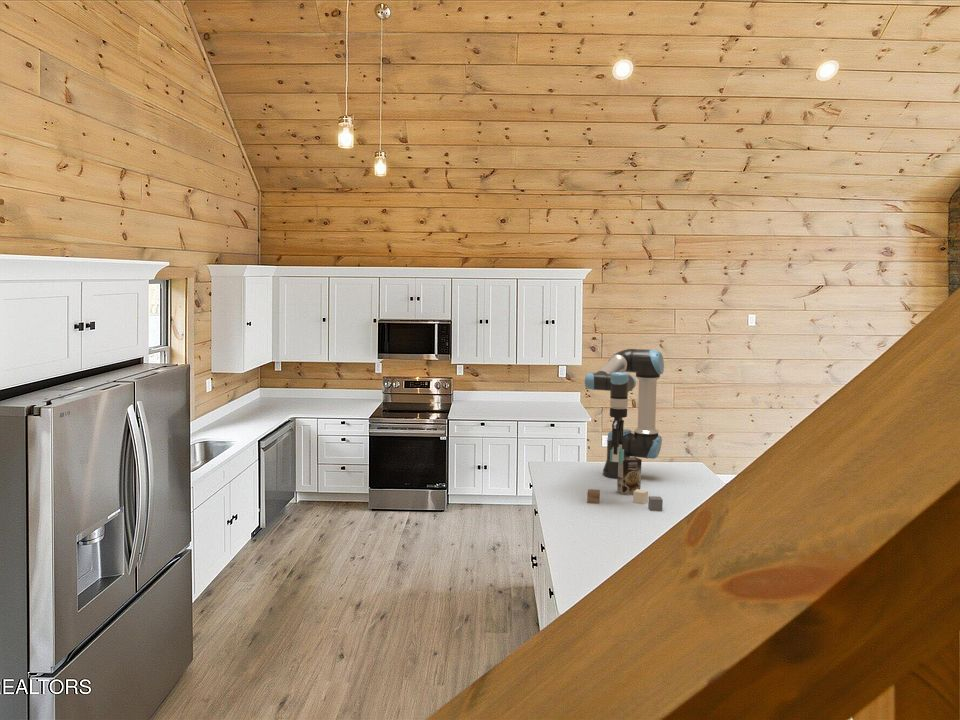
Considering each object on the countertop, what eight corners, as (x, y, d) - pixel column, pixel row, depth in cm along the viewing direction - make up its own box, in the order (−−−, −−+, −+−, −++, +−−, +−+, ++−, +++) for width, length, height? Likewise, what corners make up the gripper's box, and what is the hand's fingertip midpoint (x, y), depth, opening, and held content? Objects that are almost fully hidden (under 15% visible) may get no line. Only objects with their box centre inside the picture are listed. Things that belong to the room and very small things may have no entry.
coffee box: (622, 494, 353) (624, 460, 352) (616, 491, 359) (617, 457, 358) (640, 493, 356) (642, 459, 354) (634, 490, 362) (635, 456, 360)
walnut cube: (588, 500, 343) (588, 489, 343) (599, 500, 342) (599, 489, 342) (587, 503, 339) (587, 491, 338) (598, 503, 337) (598, 492, 337)
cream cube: (636, 500, 345) (637, 489, 345) (647, 501, 342) (648, 490, 342) (633, 502, 341) (633, 491, 340) (644, 504, 338) (644, 493, 338)
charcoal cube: (648, 507, 333) (648, 496, 332) (659, 507, 333) (660, 496, 332) (650, 510, 328) (650, 499, 327) (662, 511, 328) (662, 499, 327)
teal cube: (612, 459, 342) (612, 448, 342) (623, 460, 341) (624, 449, 340) (609, 461, 338) (610, 450, 337) (621, 462, 336) (621, 451, 336)
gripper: (614, 404, 347) (613, 455, 349) (605, 409, 330) (603, 463, 332) (631, 405, 344) (629, 457, 346) (622, 411, 327) (621, 465, 329)
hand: (616, 460), depth 339 cm, fingers closed on teal cube, 5 cm apart
